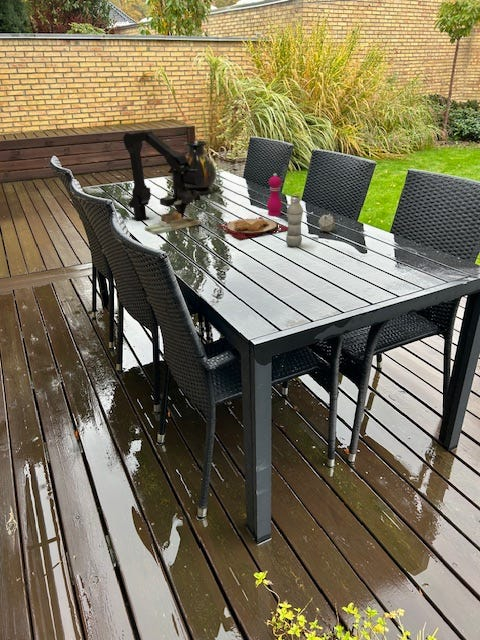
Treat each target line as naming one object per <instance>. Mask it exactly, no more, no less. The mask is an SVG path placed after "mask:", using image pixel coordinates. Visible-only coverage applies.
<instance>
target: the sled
mask: <svg viewBox="0 0 480 640" xmlns="http://www.w3.org/2000/svg"><path fill="white" fill-rule="evenodd" d="M172 214H173V215H175V220H179V219H182V216H181V213H178V212H177V211H172ZM158 224H160V225H162V226H165V227H168V226H171V224H167V223H166V222H163V221H161V219H159V220H158Z"/></svg>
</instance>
